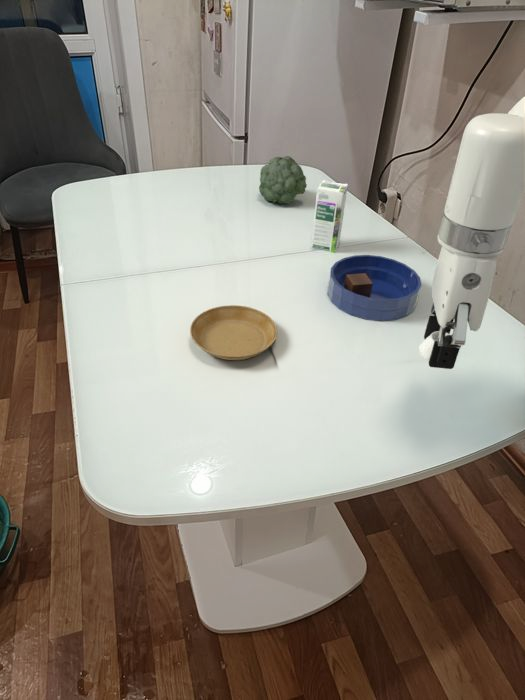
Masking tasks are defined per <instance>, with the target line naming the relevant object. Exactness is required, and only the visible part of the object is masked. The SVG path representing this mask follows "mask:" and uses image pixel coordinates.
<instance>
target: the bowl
mask: <svg viewBox="0 0 525 700" xmlns="http://www.w3.org/2000/svg"><path fill="white" fill-rule="evenodd" d="M361 273H366V275H367V276H368V277H369V279H370V280H371V282H372V283H373V286H372V291H371V296H370V298H369V297H365V296H362V295H358V294H355V293H353V292H351V291H349V290H347V289H345V288H344V285H345V279H346V275H347V274H361ZM421 288H422V280H421V277H420V275H418V273H417V272H416V271H415V270H414V269H413V268H412V267H410V266H408V265H407V264H405V263H403V262H402V261H398V260H396V259H393V258H389V257H386V256H382V255H374V254H373V255H372V254H357V255H351V256H346V257H343V258H341V259H340V260H337V261H335V263H333V265H332V266H331V268H330V271H329V279H328V285H327V296H328V298H329V301H330V302H331V303H332V304H333V305H334V306H335V307H336V308H338V310H340V311H342V312H344V313H346V314H348V315H350V316H353V317H356V318H358V319H359V318H360V319H363V320H368V321H376V322H383V321H384V322H385V321H395V320H398V319H401V318H405V317H407V316H408V315H409V314H411V313H413V312H414V310H415V308H416V306H417V303H418V299H419V295H420V293H421Z"/></svg>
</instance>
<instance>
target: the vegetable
mask: <svg viewBox="0 0 525 700" xmlns="http://www.w3.org/2000/svg"><path fill="white" fill-rule="evenodd" d="M259 182H260V184H259V187H258V190H259V194H260V195H261V196H262V197H263V198H264V200H265V201H266V202H272V203H278V204H280V205H284V204H290V203H291V201H294V200H295V198H296V196H297V195H304V194H305V192H306V189H307V185H308V184H307V176H306V175H305V174H304V171H303V168H302V167H301V166H300V165H299V164H298V163H297V162H296V160H295V159H293V158H292V157H291V156H289V155H285V156H275V157H272V158H271V159H270V160H269V162H267V164H265V165H264V166H262V167H261V168H260V176H259Z"/></svg>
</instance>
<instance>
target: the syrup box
mask: <svg viewBox="0 0 525 700" xmlns="http://www.w3.org/2000/svg"><path fill="white" fill-rule="evenodd" d="M348 186H349V183H340V182H335V181H328V180H322V181H321V183H320V184H319V185H318V187H317V188H316V196H315V207H314V216H313V225H312V226H313V228H312V236H311V242H310V244H311V245H310V251H322V252H327V253H333V254H335V253H336V252H337V250H338V248H339V246H340V243H341V242H340V241H341V235H342V228H343V222H344V214H345V207H346V201H347V194H348V188H349V187H348Z"/></svg>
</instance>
